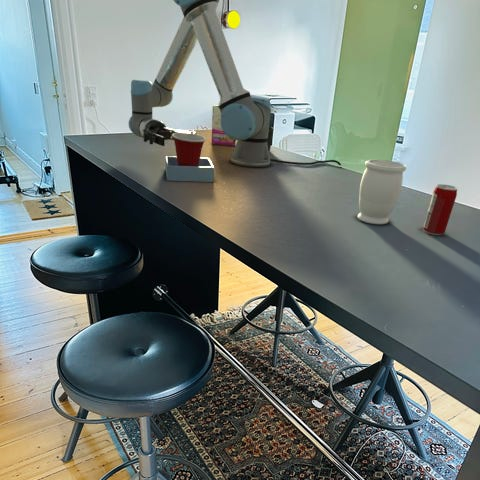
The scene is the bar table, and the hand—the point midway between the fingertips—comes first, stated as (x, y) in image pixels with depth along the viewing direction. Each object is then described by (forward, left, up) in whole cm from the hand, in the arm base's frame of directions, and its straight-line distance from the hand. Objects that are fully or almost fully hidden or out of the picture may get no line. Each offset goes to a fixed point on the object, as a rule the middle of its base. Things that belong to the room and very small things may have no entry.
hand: (182, 141), depth 147 cm
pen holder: (-38, -48, -10) cm, 62 cm away
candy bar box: (-23, -60, -10) cm, 65 cm away
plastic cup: (-2, +5, -10) cm, 11 cm away
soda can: (-62, +57, -10) cm, 85 cm away
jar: (-49, +48, -10) cm, 70 cm away
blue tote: (-2, +5, -10) cm, 11 cm away
